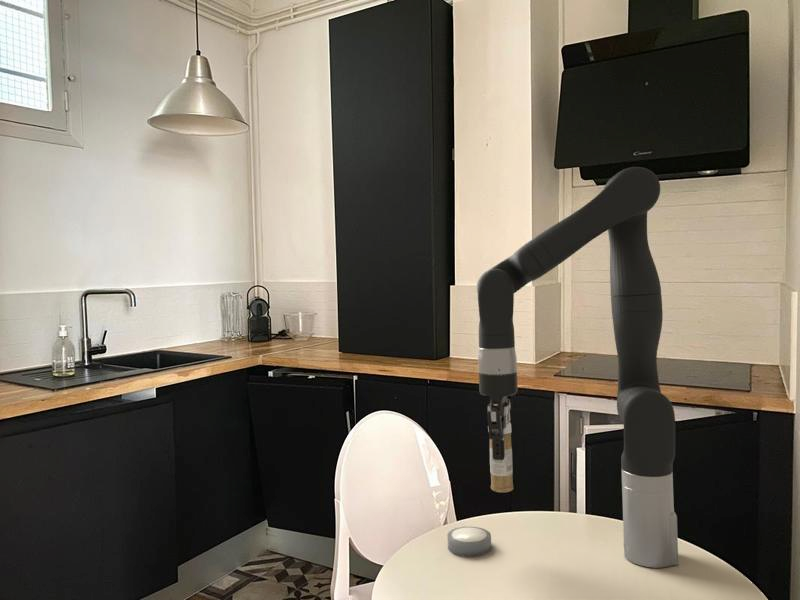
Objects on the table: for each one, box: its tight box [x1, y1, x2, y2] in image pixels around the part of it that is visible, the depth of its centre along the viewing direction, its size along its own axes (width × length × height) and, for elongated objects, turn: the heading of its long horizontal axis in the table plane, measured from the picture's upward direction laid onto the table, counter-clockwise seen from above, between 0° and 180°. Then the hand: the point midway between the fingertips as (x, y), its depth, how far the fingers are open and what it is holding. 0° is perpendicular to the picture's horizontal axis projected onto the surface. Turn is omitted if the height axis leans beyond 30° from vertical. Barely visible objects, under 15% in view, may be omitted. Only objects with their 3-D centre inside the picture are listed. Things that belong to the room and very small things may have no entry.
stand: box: [446, 526, 492, 558], centre depth 127 cm, size 9×9×3 cm
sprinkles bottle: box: [487, 421, 514, 493], centre depth 121 cm, size 5×5×14 cm
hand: (500, 455), depth 121 cm, fingers closed on sprinkles bottle, 4 cm apart
